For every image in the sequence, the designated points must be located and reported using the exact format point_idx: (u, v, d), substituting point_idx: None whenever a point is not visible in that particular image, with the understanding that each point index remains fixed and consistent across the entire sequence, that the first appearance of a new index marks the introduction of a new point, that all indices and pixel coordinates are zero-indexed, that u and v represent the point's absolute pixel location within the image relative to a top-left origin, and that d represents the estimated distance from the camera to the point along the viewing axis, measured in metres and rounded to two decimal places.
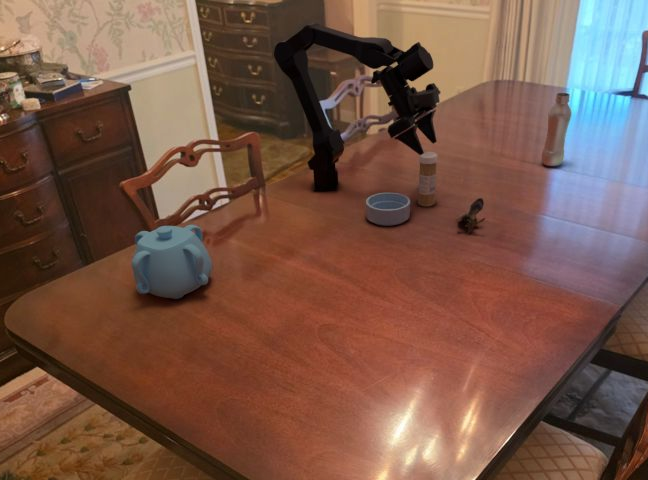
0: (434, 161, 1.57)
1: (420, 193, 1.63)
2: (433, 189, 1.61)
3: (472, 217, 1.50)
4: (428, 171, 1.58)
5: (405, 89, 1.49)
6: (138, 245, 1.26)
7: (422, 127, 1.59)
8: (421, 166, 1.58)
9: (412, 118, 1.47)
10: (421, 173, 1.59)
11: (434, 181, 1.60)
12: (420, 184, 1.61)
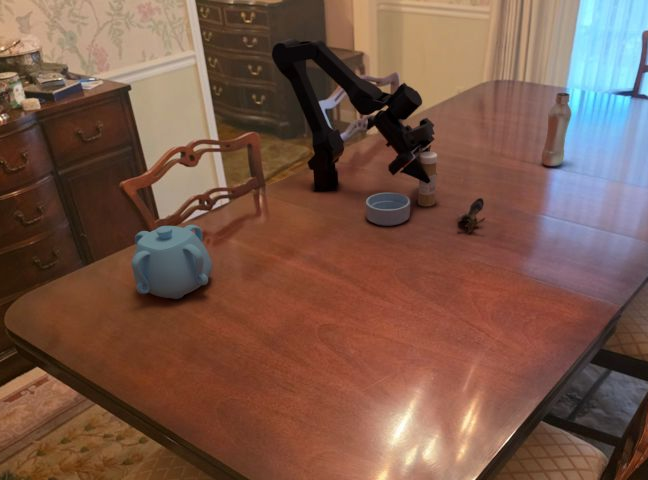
0: (434, 161, 1.57)
1: (420, 193, 1.63)
2: (433, 189, 1.61)
3: (472, 217, 1.50)
4: (428, 171, 1.58)
5: (399, 128, 1.55)
6: (138, 245, 1.26)
7: None
8: None
9: (409, 153, 1.53)
10: None
11: (434, 181, 1.60)
12: (420, 184, 1.61)
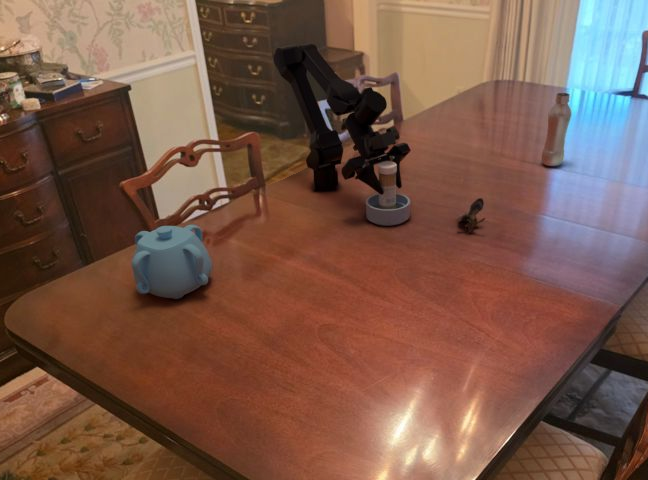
0: (389, 172, 1.50)
1: (379, 203, 1.57)
2: (390, 201, 1.55)
3: (472, 217, 1.50)
4: (383, 181, 1.52)
5: (363, 133, 1.51)
6: (138, 245, 1.26)
7: None
8: (379, 175, 1.53)
9: (361, 160, 1.48)
10: None
11: (391, 193, 1.54)
12: None
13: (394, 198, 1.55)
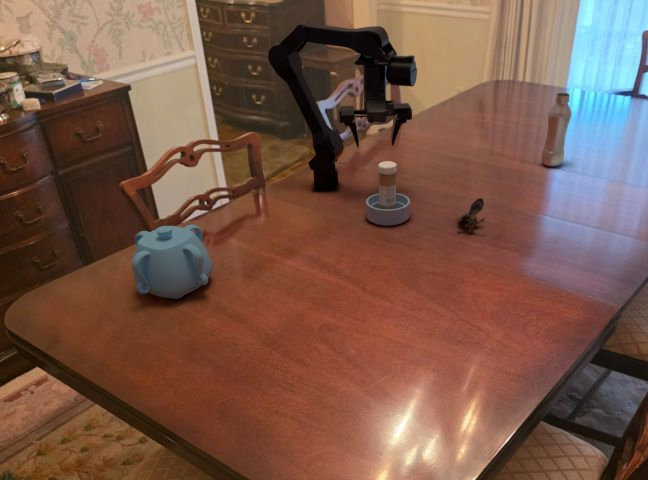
0: (389, 172, 1.50)
1: (379, 203, 1.57)
2: (390, 201, 1.55)
3: (472, 217, 1.50)
4: (383, 181, 1.52)
5: (369, 88, 1.53)
6: (138, 245, 1.26)
7: (393, 125, 1.63)
8: (379, 175, 1.53)
9: (350, 117, 1.57)
10: (379, 182, 1.54)
11: (391, 193, 1.54)
12: None
13: (394, 198, 1.55)
